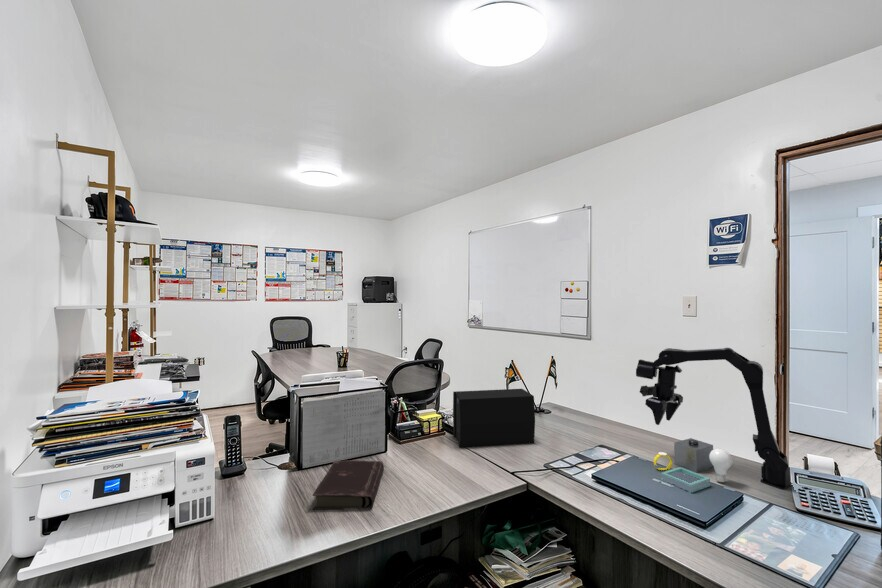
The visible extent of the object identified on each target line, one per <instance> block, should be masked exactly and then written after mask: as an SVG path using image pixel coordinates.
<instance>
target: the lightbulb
mask: <svg viewBox="0 0 882 588" xmlns="http://www.w3.org/2000/svg"><path fill="white" fill-rule="evenodd" d="M709 459H710V462H711V463H712V465H713V468H714V469H713V470H714V471H715V480H716V482H718V483H720V484H721V483H722V484H723V483H726V480H727V477H726V475H727V473H728V470H729V468H730V467H732V465H733V458H732V456H731V454H730V453H729V452H728V451H727V450H725V449H723V448H713V450H712V451H711V452H710V454H709Z"/></svg>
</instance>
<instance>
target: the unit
mask: <svg viewBox="0 0 882 588" xmlns="http://www.w3.org/2000/svg"><path fill="white" fill-rule="evenodd" d="M673 447H674V449H673V450H674V455H673V457H674V459H673V462H674V466H678V467H682V468H684V469H687V470H689V471H692V472H695V473H697V474H698V473H700V472H703V471H707V470H709V469H712V468H714V466H713V465H712V463H711V462H710V459H709V454H710V452H711V451H712V450H714V445H713V444H710V443H708V442H704V441H702V440H698V439H695V438H692V437H690V438H685V439H683V440H679V441H675V442H674V443H673Z"/></svg>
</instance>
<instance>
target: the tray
mask: <svg viewBox="0 0 882 588" xmlns="http://www.w3.org/2000/svg"><path fill="white" fill-rule="evenodd" d="M675 472H682V473H684V475H685V474H687V475H690V476H693V477H696V478H699V479H700V480H697V481H694V482H692V483H688V482H686V481H684V480H681V479H679V478H676V477H674V476H672V475H669V474H672V473H675ZM661 475H663V476H666V477H668V478H671V479H674V480H676V481H679V482H682V483H684V484H685V485H687V486H689V487H693V486H696V485H698V484H701V483H702V482H705V481H706V482H710V484H708V485H704V487H703V486H702V487H701V486H700V487H699V488H695V489H693V490H691V491H694V492H692V493H695V492H698V491H701V490H704V489H706V488H708V487H711V478H710V477H707V476H704V475H703V474H700V473H698V472H697V473H696V472H693V471H690V470H688V469H685V468H683V467H680V466H678V467H676V468H675V467H674V468H671V469H669V470H668V471H661ZM661 475H660V476H661ZM663 479H664V478H662V477H661V481H663V482H664V483H667V482H668V481H667V482H666V481H665V479H664V480H663ZM689 493H690V494H692V493H691V492H689Z"/></svg>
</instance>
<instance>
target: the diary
mask: <svg viewBox="0 0 882 588" xmlns="http://www.w3.org/2000/svg"><path fill="white" fill-rule="evenodd" d="M384 470H385V466H384V462H383V461H381V460H379V461H378V460H359V459H358V460H356V459H355V460H350V459H349V460H348V459H347V460H346V459H345V460H335V461H333V462H332V463H331V465H330V467H329V469H328V470H327V472H326V474H325V475H324V477H323V478H322V480H321V481H320V482H319V484H318V485H317V487H316V489H315V491H314V492H313V494H312V496H313V497H316V503H315V505H314V506H313V508H312V511H336V510H337V511H338V510H340V511H341V510H342V511H344V510H345V509H361V508H362V507H363V504H364V507H363V508H364V509H363V510H365V509H366V507H368V506H369V504H370V501H371V505H370V510H372V509H373V506H374V503H375V500H376V496H377V492H378V490H379V487H380V484H381V481H382V476H383V474H384ZM364 502H365V503H364Z"/></svg>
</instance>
